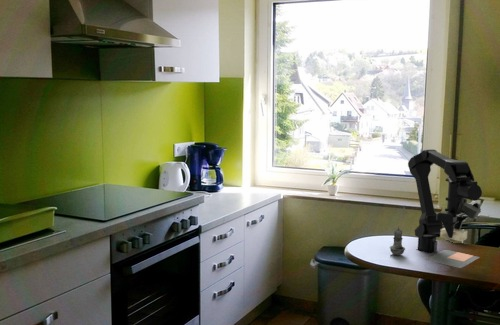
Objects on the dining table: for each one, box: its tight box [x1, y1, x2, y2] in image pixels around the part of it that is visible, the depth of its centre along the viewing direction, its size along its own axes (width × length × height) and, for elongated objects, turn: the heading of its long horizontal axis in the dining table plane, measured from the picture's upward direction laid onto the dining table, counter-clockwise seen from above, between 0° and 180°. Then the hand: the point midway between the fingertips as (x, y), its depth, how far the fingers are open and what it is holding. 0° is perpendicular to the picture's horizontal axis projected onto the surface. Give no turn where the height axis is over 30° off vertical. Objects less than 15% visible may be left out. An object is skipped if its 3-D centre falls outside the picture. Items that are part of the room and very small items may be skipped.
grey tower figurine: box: [389, 226, 406, 257], centre depth 204 cm, size 6×6×12 cm
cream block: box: [439, 227, 468, 242], centre depth 195 cm, size 8×5×3 cm, turn 46°
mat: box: [424, 249, 481, 269], centre depth 202 cm, size 14×18×1 cm
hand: (453, 236), depth 195 cm, fingers closed on cream block, 5 cm apart
